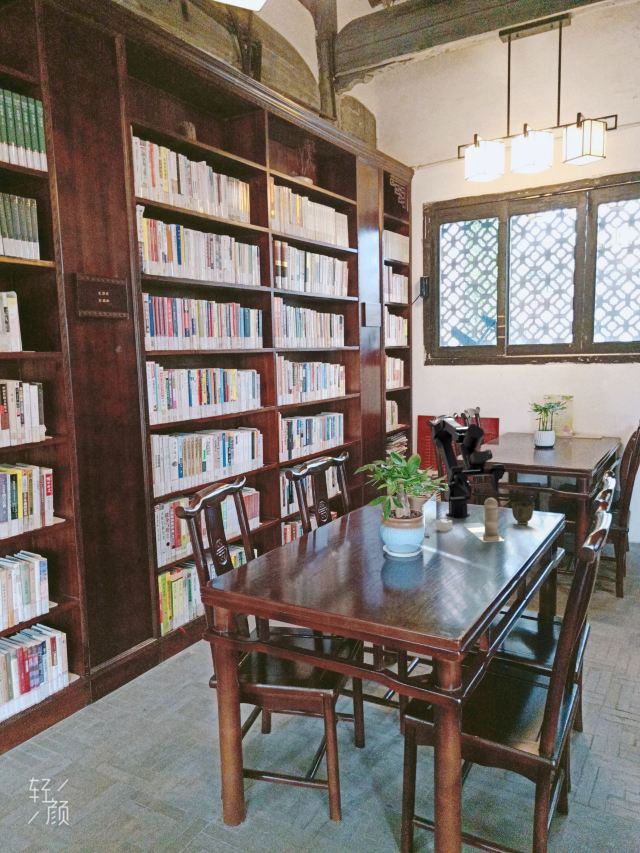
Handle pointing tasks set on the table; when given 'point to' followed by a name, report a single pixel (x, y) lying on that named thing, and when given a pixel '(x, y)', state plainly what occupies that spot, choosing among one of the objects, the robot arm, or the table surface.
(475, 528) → the board
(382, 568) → the table surface
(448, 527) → the die
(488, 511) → the round-topped post
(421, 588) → the table surface
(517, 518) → the cup
